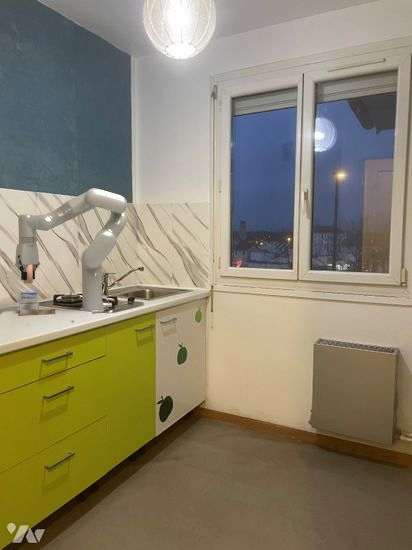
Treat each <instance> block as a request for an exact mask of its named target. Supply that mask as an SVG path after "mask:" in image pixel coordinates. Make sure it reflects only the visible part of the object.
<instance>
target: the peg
mask: <svg viewBox="0 0 412 550" xmlns="http://www.w3.org/2000/svg"><path fill="white" fill-rule="evenodd" d="M23 267H24V266H23ZM26 272H27V280H23V284H33V283H34V279H33V265H32V264H30V265H27V267H26Z"/></svg>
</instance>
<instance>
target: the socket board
mask: <svg viewBox="0 0 412 550" xmlns="http://www.w3.org/2000/svg"><path fill="white" fill-rule="evenodd" d="M45 315H47V316H48V315H56V308H48V309H46V308H45V309H40V302H39V301H37V302H21V301H20V303H19V312H18V315H17V316H18V317H21V316H22V317H24V316H26V317H27V316H28V317H29V316H45Z"/></svg>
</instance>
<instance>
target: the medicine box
mask: <svg viewBox="0 0 412 550" xmlns="http://www.w3.org/2000/svg"><path fill="white" fill-rule="evenodd" d="M19 295H20V297H19V298H20V299H19V300H20V303H21V302H38V291H21V292H20V294H19Z"/></svg>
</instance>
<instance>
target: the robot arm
mask: <svg viewBox="0 0 412 550" xmlns="http://www.w3.org/2000/svg"><path fill="white" fill-rule="evenodd" d="M127 207H128V201H127V199H126V197H124V196H122V195H120V194H118V193H113V192H111V191H107V190H104V189H99V188H96V187H93V188H90V189H88V190H87V191H86V192H84V193H81V194H78V195H77V196H75V197H73V198H71V199H69V200H67V201H65V202H64V203H63V204H61V206H59V207H57V208H55V209H54V210H51V211H49V212H48V213H46V214H36V215H35V214H34V215H33V214H20V215H18V219H17V220H18V243H17V245H16V250H15V264H14V267H16V268H17V269H18V271H20V279H21V281H24V280H27V272H26V267H27V265H30V264H32V265H33V280H36V271H37V268H39V266H40V265H41V262H40V260H39V259H40V258H39V248H38V244H37V241H38V238H37V230H39V231H44V232H45V231H50V230H52V229H54V228H56V227H58V226H60V225H62V224H65V223H66V222H68V221H71V220H74V219H75V218H77V217H80V216H81V215H83V214H86V213H87V212H90V211H91V210H93V209H96V208H99V209H103V210H107V211H110V216H109V218H108V220H107V221H106V222H105V224H104V226H102V228H101V229H100V231H98V233H96V235H95V238H94V239H93V240H92V242H91V243H90V245H89V246H88V247H87V248H86V249H85V250H83V252H82V254H81V259H80V261H81V292H82V293H81V295H82V297H81V298H82V302H81V303H82V307H80V308H79V310H80V311H82V312H91V313H92V314H97V313H103V312H105V311H106V308H107V307H108V308H109V307H110V308H112V307H113V306H112V305H113V304H112V302H104V301H103V286H102V285H103V275H102V273H103V272H102V271H103V269H102V267H103V266H102V264H103V263H104V261H105V260H106V259H107V257H108V256H109V255H110V253H111V252H112V250H113V249H114V248H115V246H116V244H117V239H118V237H119V236H120V234H121V233H122V231H123V230H124V228H125V226H126V225H127V222H128V210H127V209H128V208H127ZM23 266H24V267H23ZM104 310H105V311H104Z"/></svg>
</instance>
